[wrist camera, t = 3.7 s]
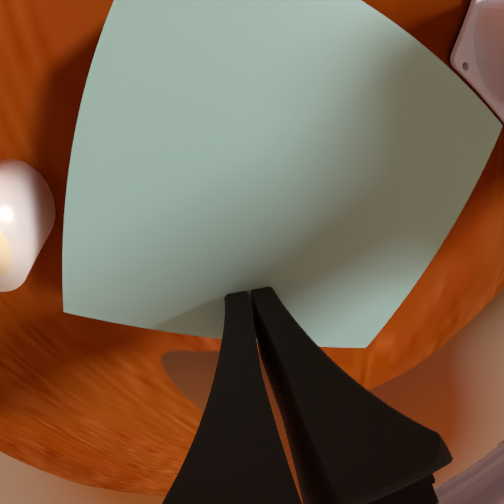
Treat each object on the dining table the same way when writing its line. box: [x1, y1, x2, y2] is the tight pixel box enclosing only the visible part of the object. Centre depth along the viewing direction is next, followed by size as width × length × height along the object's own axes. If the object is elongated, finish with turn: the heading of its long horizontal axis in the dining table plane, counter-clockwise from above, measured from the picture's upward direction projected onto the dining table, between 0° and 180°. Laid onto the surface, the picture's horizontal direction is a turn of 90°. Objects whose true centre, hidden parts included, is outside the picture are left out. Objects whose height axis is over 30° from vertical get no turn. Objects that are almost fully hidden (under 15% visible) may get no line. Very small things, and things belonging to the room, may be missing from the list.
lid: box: [62, 0, 503, 348], centre depth 9 cm, size 12×11×1 cm
